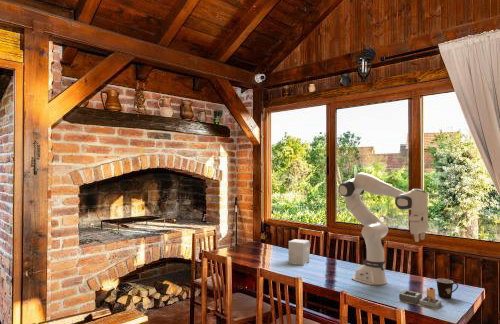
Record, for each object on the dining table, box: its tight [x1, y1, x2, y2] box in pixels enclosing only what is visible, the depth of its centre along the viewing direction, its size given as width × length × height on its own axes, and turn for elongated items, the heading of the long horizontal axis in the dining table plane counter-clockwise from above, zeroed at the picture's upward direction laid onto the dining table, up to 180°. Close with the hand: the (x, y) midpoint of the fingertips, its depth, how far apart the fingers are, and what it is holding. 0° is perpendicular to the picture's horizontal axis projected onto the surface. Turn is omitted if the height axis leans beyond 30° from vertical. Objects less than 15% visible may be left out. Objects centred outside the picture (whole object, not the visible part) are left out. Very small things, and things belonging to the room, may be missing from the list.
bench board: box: [397, 299, 443, 311], centre depth 198 cm, size 20×11×1 cm, turn 47°
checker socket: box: [398, 289, 423, 305], centre depth 201 cm, size 9×9×4 cm
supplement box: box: [288, 238, 310, 266], centre depth 288 cm, size 13×13×18 cm
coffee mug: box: [435, 278, 459, 300], centre depth 207 cm, size 12×9×10 cm
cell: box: [426, 287, 436, 303], centre depth 194 cm, size 4×4×9 cm
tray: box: [419, 296, 442, 310], centre depth 194 cm, size 9×9×2 cm
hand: (419, 240), depth 208 cm, fingers open, 8 cm apart
